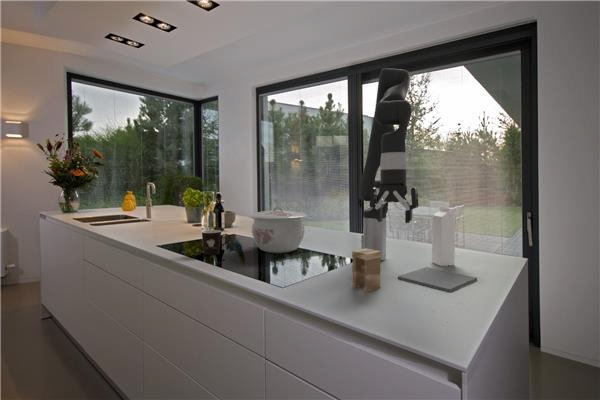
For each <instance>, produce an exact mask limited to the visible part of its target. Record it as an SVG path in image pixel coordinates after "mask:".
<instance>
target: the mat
mask: <svg viewBox="0 0 600 400" xmlns="http://www.w3.org/2000/svg"><path fill="white" fill-rule="evenodd" d="M397 279H398V280H402V281H406V282H409V283H413V284H417V285H421V286H425V287H429V288H433V289H436V290H441V291H445V292H449V293H451V292H453V291H456V290H458V289H461V288H463V287H464V286H466V285H469V284H471V283H473V282H476V281H477V280H478V277H475V276H471V275H466V274H461V273H457V272H451V271H447V270H442V269H437V268H433V267H428V266H426V267H423V268H419V269H416V270H413V271H409V272H407V273H403V274H400V275H398V276H397Z"/></svg>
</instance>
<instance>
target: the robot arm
mask: <svg viewBox="0 0 600 400" xmlns="http://www.w3.org/2000/svg"><path fill="white" fill-rule="evenodd" d="M379 73H380V74H379V76H378V77H379V78H378V81H377V82H378V83H377V91H376V92H377V93H376V100H375V108H374V114H373V120H372V125H371V128H370V129H371V130H370V134H369V135H370V136H369V142H368V148H367V153H366V154H367V155H366V159H365V164H364V168H363V172H362V175H361V179H360V182H359V183H360V184H359V192H358V193H359V196H360V199H361V200H362V201H364V202H369V207H368V208H366V209H364V210H363V213H362V214H363V217H362V218H363V220H362V221H363V228H362V229H363V232H362V233H363V234H362V235H361V240H360V241H361V246H360V249H364V248H367V249H372V250H377V251H381V261H385V260H386V259H387V212H388V210H389V203H392V202H393V203H400V204H401V205H402V206H403V207H404V209H405V210H404V211H405V215H404V219H405V220H404V221H405V222H404V223H405V224H409V223H410V222H411V221H412V218H413V215H412V214H413V210H414V209H417V208H419V192H418V188H417V187H412V188H411V187H410V188H409V187H407V157H406V156H407V155H406V139H407V138H406V137H407V131H408V127H409V123H410V122H411V121H410V120H411V117H412V112H413V107H412V104H411V102H409V101H408V100H406V97H407V95H408V91H409V88H410V84H411V73H410V72H409V71H408V70H406V69H402V68H401V69H399V68H389V67H384V68H382V69H381V71H380V72H379ZM395 126H398V128H397V129H396V128H395ZM395 129H396V130H395ZM379 170H380V175H379V177H380V178H376V177H377V173H378V171H379ZM407 194H409V195H410V197H411V203H410V202H409V199H408V198H407V197H406V195H407Z"/></svg>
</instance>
